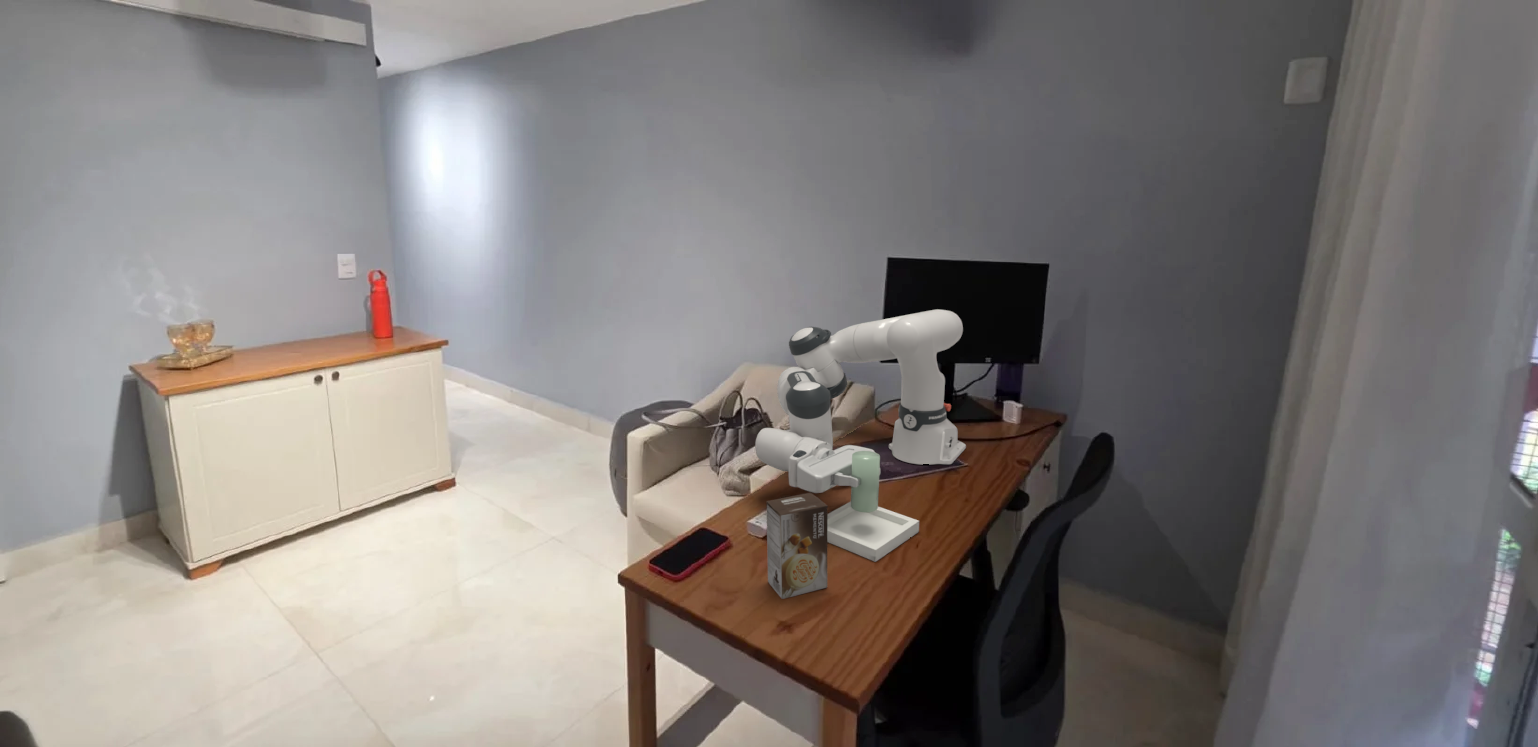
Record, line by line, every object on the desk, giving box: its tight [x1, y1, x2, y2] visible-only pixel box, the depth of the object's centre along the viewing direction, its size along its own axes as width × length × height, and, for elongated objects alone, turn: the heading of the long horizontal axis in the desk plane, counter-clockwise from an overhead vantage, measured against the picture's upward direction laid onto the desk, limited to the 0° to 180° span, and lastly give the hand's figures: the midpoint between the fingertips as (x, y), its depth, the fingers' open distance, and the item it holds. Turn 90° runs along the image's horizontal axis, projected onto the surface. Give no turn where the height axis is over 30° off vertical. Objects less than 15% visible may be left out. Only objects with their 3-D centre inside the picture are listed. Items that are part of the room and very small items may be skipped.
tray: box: [827, 500, 920, 562], centre depth 137 cm, size 16×16×2 cm
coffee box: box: [765, 492, 829, 600], centre depth 117 cm, size 9×6×16 cm
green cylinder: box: [850, 451, 881, 512], centre depth 134 cm, size 6×6×11 cm
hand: (868, 477), depth 134 cm, fingers closed on green cylinder, 5 cm apart
